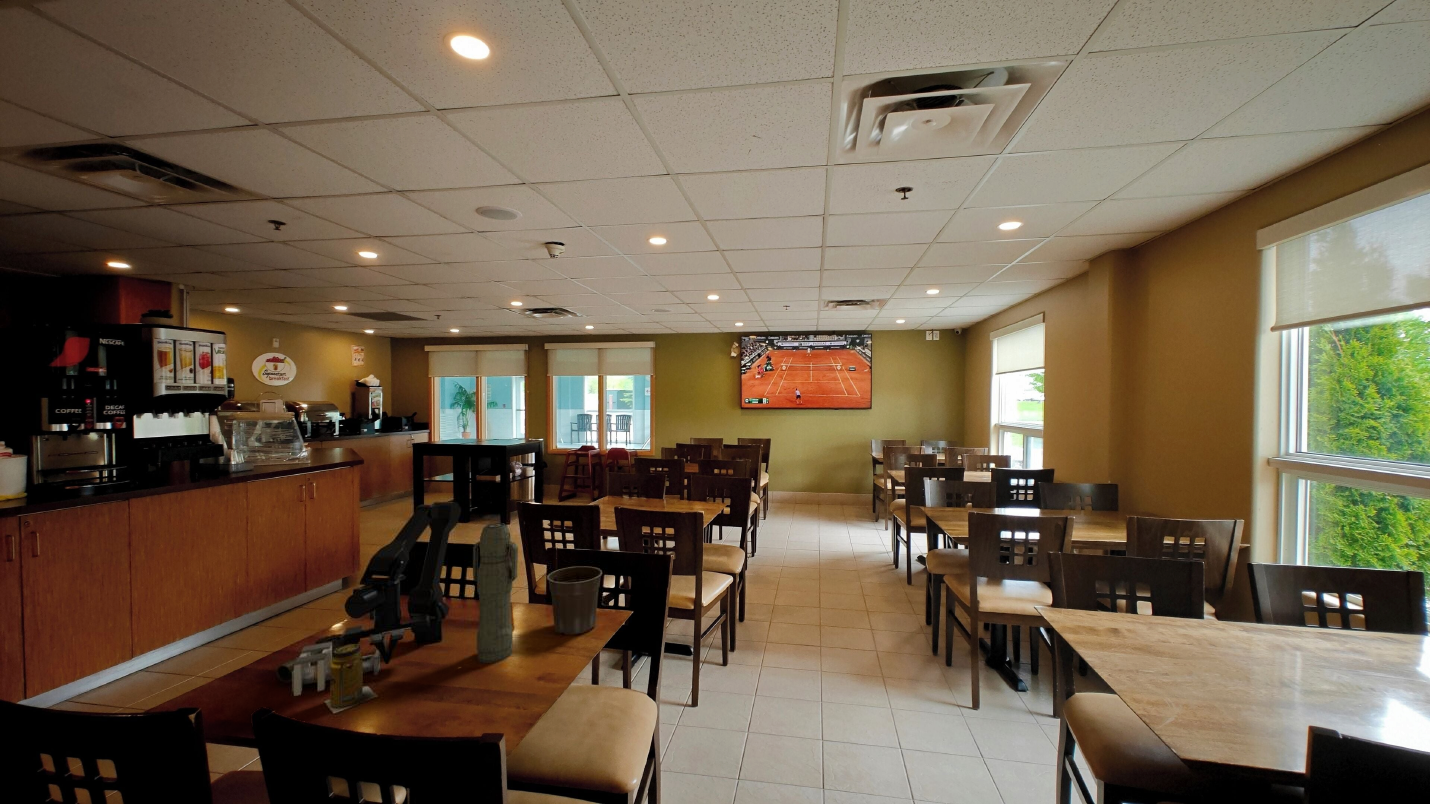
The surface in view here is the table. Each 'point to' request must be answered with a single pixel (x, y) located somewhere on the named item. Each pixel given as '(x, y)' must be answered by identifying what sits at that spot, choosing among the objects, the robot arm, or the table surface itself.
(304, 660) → the grey staple-shaped bracket
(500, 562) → the grey stone statue
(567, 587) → the plant pot
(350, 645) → the condiment
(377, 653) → the air tube
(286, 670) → the dark piece
